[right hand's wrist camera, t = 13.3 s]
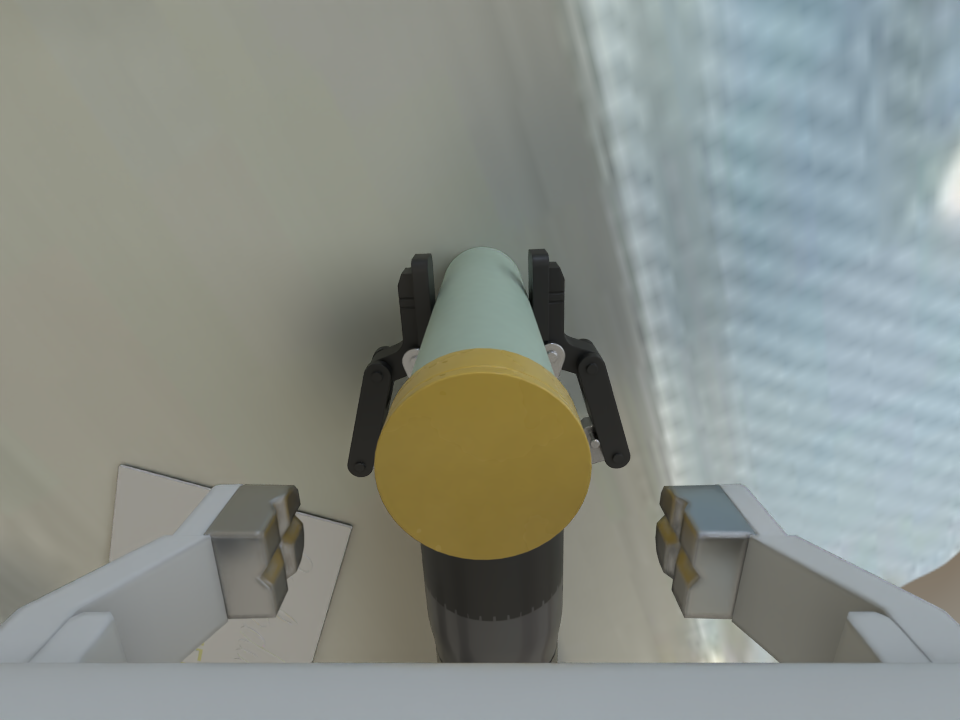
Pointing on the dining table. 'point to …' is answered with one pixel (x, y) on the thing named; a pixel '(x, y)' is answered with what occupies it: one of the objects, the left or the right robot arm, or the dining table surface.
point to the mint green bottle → (482, 310)
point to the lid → (482, 455)
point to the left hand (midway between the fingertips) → (479, 256)
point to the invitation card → (285, 639)
